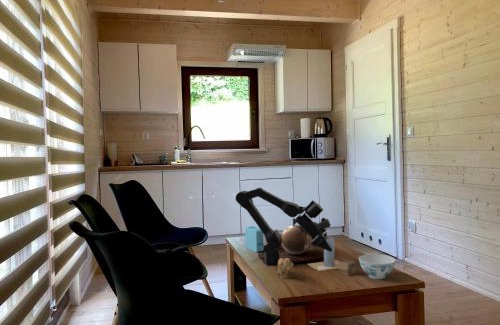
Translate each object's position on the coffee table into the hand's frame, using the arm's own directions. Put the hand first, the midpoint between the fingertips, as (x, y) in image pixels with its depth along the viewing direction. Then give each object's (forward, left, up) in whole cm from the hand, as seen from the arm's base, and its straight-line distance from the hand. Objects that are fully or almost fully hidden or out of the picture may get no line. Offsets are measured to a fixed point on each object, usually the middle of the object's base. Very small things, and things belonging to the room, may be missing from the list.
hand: (332, 249), depth 195 cm
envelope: (-1, +2, -8) cm, 8 cm away
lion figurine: (-26, -3, -8) cm, 27 cm away
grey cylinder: (-1, +1, -8) cm, 8 cm away
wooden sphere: (-6, +27, -8) cm, 29 cm away
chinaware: (+10, -20, -8) cm, 24 cm away
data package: (-23, +44, -8) cm, 50 cm away
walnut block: (+1, -11, -8) cm, 14 cm away
